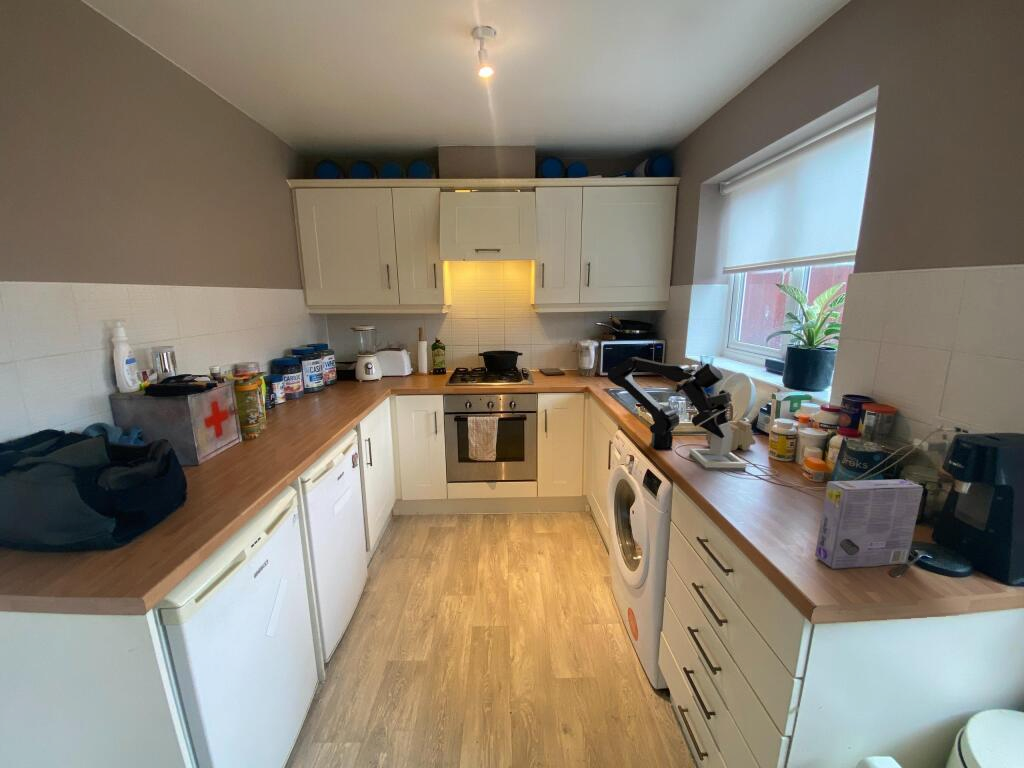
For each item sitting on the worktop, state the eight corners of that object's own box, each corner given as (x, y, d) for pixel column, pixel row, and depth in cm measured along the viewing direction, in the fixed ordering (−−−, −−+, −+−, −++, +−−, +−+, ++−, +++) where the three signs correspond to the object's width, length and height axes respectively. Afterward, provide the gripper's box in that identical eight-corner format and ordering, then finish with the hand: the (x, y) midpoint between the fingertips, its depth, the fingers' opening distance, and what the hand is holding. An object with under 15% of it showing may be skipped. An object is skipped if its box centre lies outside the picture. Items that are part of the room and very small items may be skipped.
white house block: (730, 452, 138) (734, 423, 136) (720, 456, 134) (724, 427, 132) (719, 448, 141) (723, 420, 138) (709, 452, 137) (713, 424, 135)
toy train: (754, 450, 150) (758, 424, 148) (710, 451, 149) (713, 425, 147) (744, 445, 156) (748, 420, 154) (702, 446, 154) (704, 420, 152)
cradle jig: (705, 470, 133) (706, 462, 132) (689, 455, 145) (690, 448, 145) (745, 470, 132) (746, 463, 132) (725, 455, 145) (726, 449, 144)
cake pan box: (889, 550, 91) (905, 476, 87) (913, 564, 86) (932, 486, 82) (811, 556, 89) (824, 480, 85) (831, 571, 84) (846, 491, 80)
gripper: (706, 386, 128) (739, 429, 123) (726, 379, 141) (757, 416, 136) (678, 405, 135) (708, 446, 130) (700, 396, 148) (728, 433, 143)
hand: (727, 435), depth 135 cm, fingers closed on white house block, 7 cm apart
